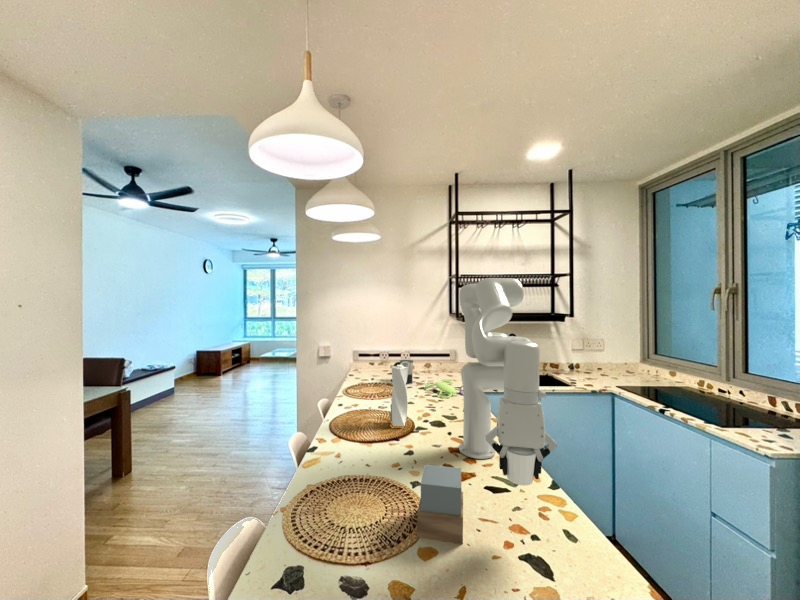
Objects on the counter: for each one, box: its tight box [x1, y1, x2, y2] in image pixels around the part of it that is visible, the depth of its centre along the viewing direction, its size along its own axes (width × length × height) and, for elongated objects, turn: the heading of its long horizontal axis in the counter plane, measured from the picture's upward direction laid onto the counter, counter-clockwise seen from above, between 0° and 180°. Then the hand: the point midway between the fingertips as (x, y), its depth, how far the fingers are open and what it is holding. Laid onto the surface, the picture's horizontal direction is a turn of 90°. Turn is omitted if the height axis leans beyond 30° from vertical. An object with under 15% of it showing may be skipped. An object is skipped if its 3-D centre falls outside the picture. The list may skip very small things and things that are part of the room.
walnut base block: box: [416, 491, 464, 545], centre depth 76 cm, size 10×10×6 cm
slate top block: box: [420, 464, 462, 516], centre depth 76 cm, size 9×9×6 cm
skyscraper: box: [389, 361, 410, 426], centre depth 139 cm, size 8×8×28 cm
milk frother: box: [390, 359, 414, 384], centre depth 215 cm, size 14×16×15 cm
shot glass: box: [506, 447, 536, 487], centre depth 73 cm, size 7×7×7 cm
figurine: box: [423, 379, 464, 399], centre depth 195 cm, size 18×27×6 cm
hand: (519, 473), depth 73 cm, fingers closed on shot glass, 6 cm apart
